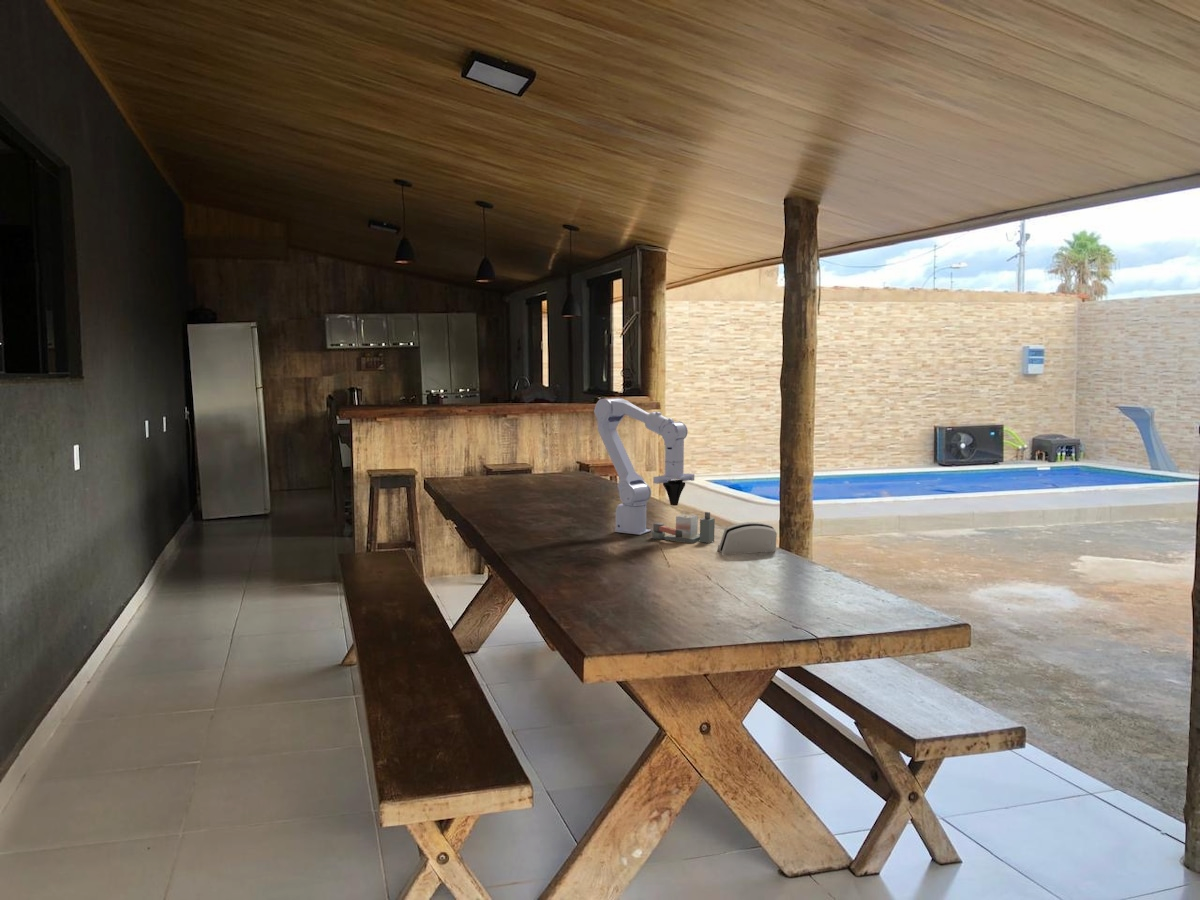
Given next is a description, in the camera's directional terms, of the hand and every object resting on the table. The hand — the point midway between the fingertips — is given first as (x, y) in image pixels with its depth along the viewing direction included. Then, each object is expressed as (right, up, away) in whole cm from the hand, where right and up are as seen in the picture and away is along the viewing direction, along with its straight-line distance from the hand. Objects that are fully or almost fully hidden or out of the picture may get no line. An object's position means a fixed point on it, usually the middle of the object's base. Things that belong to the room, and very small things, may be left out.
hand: (673, 505), depth 289 cm
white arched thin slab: (+20, -13, -20) cm, 31 cm away
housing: (+4, -9, -1) cm, 10 cm away
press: (+4, -10, -1) cm, 11 cm away
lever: (-2, -8, -5) cm, 10 cm away
